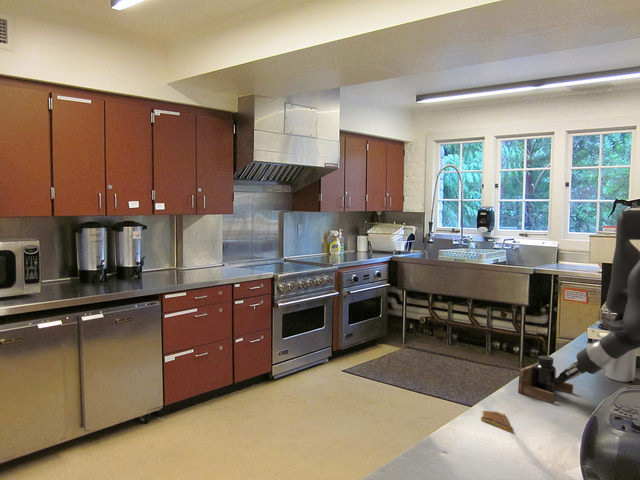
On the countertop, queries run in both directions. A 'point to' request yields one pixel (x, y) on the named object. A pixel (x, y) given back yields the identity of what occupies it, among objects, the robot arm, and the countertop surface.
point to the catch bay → (527, 388)
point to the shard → (497, 420)
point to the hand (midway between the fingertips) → (555, 382)
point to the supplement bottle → (544, 374)
